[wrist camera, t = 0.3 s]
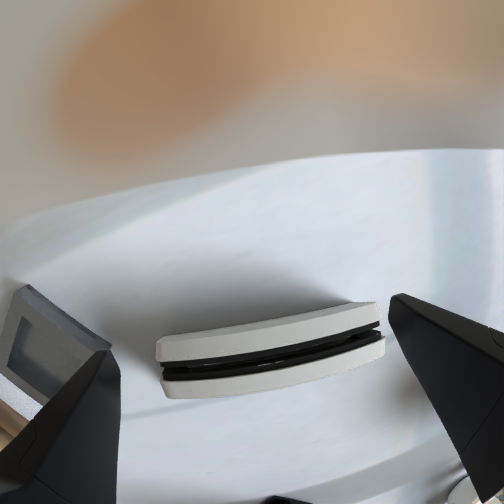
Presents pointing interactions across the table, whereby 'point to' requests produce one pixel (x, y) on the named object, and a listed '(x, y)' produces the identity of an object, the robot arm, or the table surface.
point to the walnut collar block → (11, 419)
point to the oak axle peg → (5, 438)
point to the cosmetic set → (468, 494)
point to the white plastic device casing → (270, 352)
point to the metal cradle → (43, 345)
